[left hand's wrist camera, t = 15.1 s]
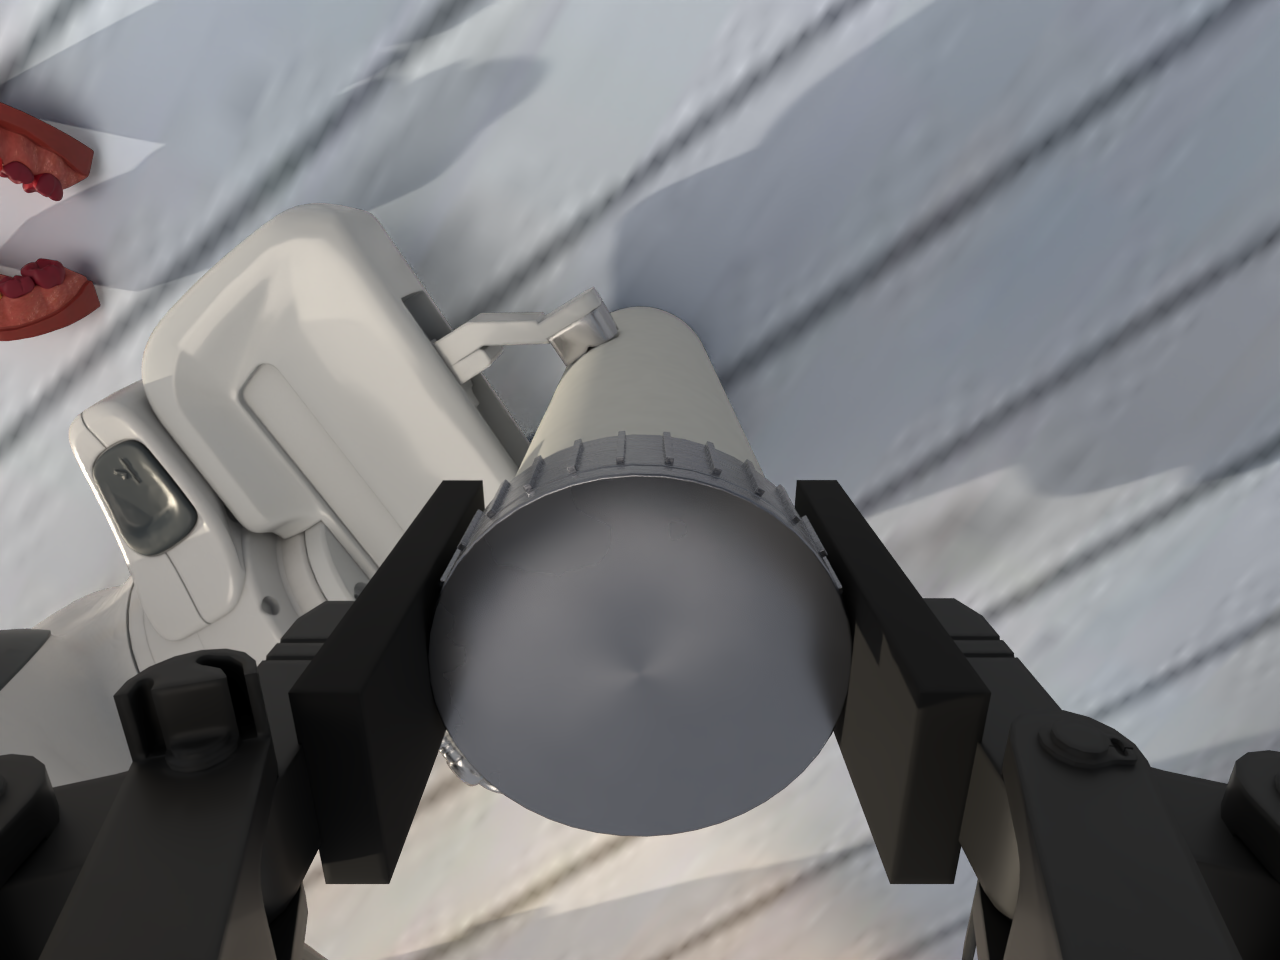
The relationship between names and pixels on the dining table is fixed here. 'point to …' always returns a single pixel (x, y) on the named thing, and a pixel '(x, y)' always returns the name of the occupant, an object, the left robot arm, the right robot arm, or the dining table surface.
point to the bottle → (641, 391)
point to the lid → (640, 638)
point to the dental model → (48, 167)
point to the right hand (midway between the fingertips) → (663, 404)
